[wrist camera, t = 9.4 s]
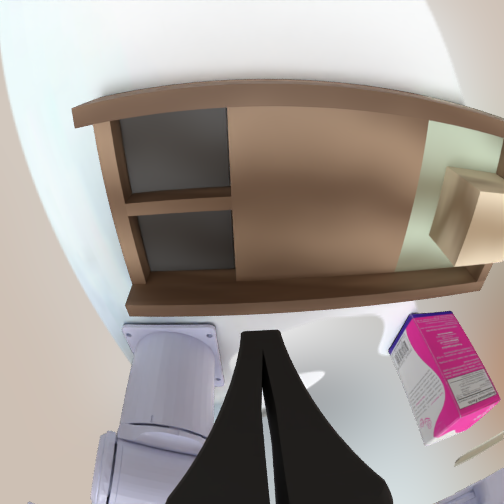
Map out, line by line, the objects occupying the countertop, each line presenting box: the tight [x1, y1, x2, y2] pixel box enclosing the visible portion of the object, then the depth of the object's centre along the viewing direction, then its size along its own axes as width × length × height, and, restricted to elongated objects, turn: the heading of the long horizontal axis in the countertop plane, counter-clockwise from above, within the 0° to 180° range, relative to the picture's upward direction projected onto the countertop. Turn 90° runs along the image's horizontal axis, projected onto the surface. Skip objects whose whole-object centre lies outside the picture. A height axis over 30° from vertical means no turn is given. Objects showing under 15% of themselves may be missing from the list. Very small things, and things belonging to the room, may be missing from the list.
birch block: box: [429, 166, 504, 267], centre depth 15 cm, size 5×5×4 cm
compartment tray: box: [72, 79, 504, 317], centre depth 16 cm, size 13×26×4 cm, turn 91°
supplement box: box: [388, 311, 501, 446], centre depth 22 cm, size 6×6×12 cm
